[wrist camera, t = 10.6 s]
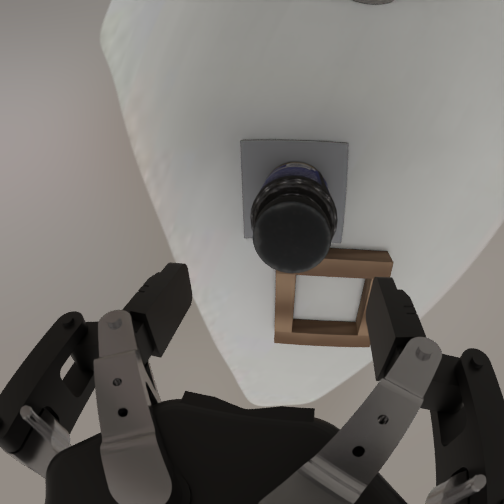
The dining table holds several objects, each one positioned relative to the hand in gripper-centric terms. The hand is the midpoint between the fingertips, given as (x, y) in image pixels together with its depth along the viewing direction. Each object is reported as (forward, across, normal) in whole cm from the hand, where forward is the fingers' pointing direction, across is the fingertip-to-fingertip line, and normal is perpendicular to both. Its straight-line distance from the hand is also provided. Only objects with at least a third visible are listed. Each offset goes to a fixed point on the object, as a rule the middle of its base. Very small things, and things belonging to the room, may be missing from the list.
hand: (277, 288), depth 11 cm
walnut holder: (+17, -4, +12) cm, 21 cm away
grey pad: (+17, 0, 0) cm, 17 cm away
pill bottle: (+16, 0, 0) cm, 16 cm away
